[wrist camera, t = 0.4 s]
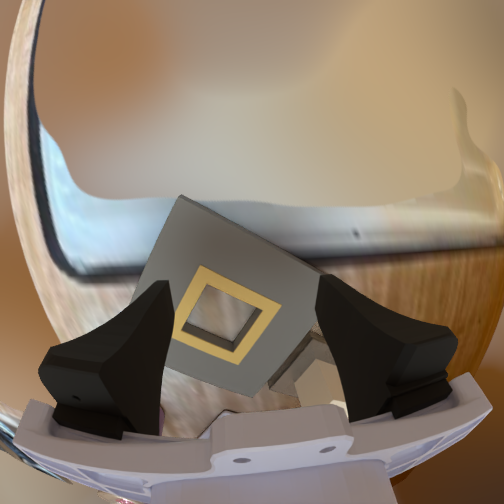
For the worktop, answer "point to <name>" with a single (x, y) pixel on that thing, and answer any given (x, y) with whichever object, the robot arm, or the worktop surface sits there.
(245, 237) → the hole board
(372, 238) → the worktop surface
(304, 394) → the peg
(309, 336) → the tab
